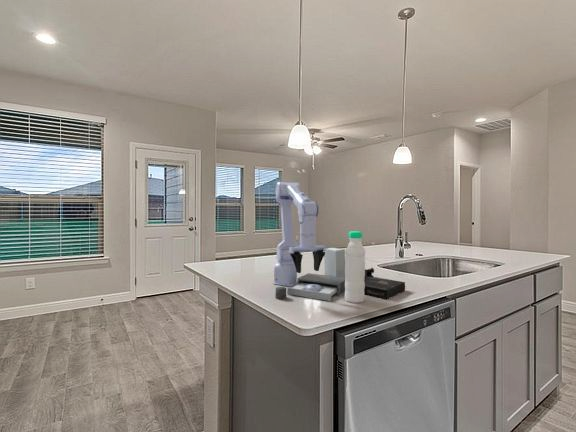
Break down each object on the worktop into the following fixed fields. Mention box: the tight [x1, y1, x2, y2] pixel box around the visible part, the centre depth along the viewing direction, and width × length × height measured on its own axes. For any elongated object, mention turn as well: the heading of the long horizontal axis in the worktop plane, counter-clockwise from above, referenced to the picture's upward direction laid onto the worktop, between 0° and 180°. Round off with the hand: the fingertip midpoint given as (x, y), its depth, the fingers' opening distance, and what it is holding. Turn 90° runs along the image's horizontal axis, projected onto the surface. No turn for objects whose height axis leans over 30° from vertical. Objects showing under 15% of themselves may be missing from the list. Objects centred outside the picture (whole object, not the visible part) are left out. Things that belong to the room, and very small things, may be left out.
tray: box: [286, 283, 338, 302], centre depth 122 cm, size 18×11×2 cm, turn 62°
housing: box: [297, 272, 346, 296], centre depth 130 cm, size 18×11×4 cm, turn 62°
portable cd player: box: [364, 276, 406, 301], centre depth 128 cm, size 16×17×4 cm
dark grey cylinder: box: [275, 286, 287, 300], centre depth 118 cm, size 4×4×4 cm
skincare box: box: [323, 247, 346, 278], centre depth 142 cm, size 8×6×15 cm
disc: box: [306, 284, 321, 292], centre depth 122 cm, size 6×6×2 cm
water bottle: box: [344, 230, 366, 304], centre depth 114 cm, size 7×7×25 cm
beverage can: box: [365, 267, 375, 277], centre depth 144 cm, size 9×8×12 cm
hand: (307, 271), depth 116 cm, fingers open, 7 cm apart
